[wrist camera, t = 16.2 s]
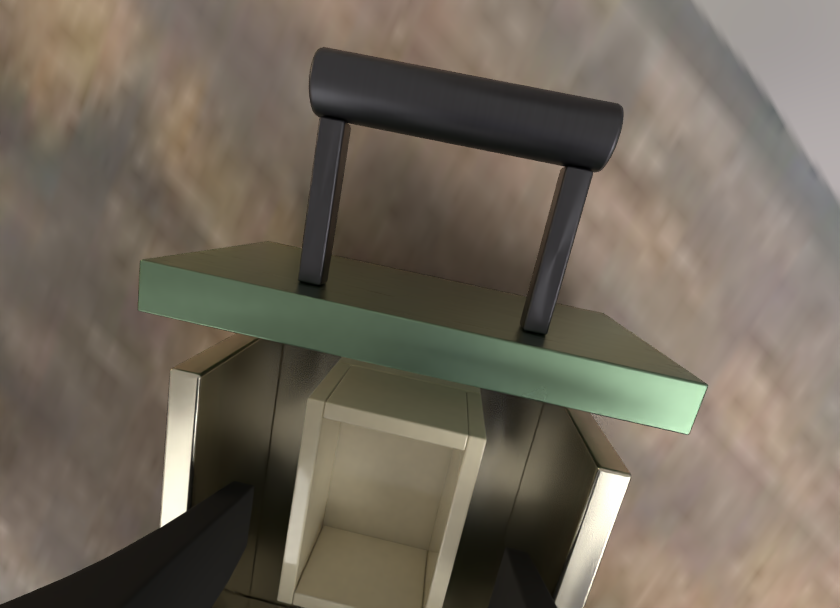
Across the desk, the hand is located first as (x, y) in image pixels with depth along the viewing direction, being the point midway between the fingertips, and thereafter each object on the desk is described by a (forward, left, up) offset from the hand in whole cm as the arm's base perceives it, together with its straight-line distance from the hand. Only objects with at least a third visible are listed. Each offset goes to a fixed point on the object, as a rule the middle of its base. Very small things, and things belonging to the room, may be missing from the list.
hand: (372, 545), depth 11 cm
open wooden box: (0, 0, -4) cm, 4 cm away
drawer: (0, -2, -5) cm, 5 cm away
